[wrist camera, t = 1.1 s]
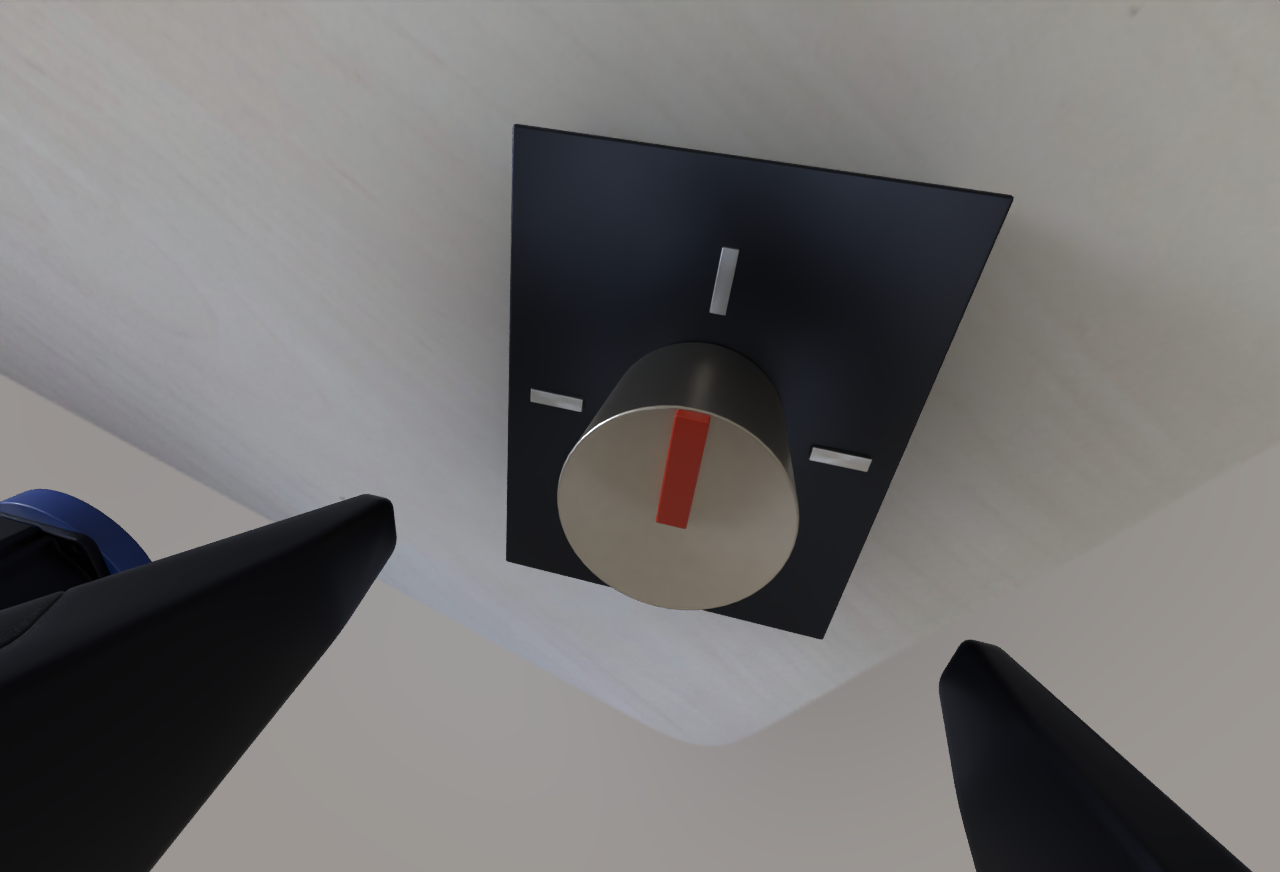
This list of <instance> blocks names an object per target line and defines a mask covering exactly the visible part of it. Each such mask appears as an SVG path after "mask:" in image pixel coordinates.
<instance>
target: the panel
mask: <svg viewBox="0 0 1280 872" xmlns="http://www.w3.org/2000/svg"><path fill="white" fill-rule="evenodd" d="M1013 198H1014V197H1013V196H1012V195H1007V194H1000V193H993V192H986V191H979V190H972V189H965V188H958V187H952V186H945V185H938V184H931V183H924V182H917V181H910V180H903V179H896V178H889V177H882V176H875V175H868V174H861V173H854V172H847V171H840V170H833V169H826V168H820V167H813V166H806V165H799V164H792V163H785V162H778V161H771V160H764V159H757V158H750V157H743V156H736V155H729V154H722V153H715V152H708V151H701V150H694V149H688V148H681V147H674V146H667V145H660V144H653V143H646V142H639V141H632V140H625V139H618V138H611V137H604V136H597V135H590V134H583V133H576V132H569V131H563V130H556V129H549V128H542V127H535V126H528V125H521V124H514V125H513V144H512V210H511V275H510V341H509V407H508V473H507V538H506V561H508V562H512V563H516V564H520V565H524V566H528V567H532V568H536V569H540V570H544V571H548V572H552V573H556V574H560V575H564V576H568V577H572V578H576V579H580V580H584V581H588V582H592V583H596V584H600V585H604V586H608V587H611V586H609V585H608V584H606V583H605V582H603V581H602V580H601V579H600V578H599V577H597V576H596V575H595V574H594V573H593V572H592V571H591V570H590V569H589V568H588V567H587V566H586V565H585V564H584V563H583V562H582V561H581V559H580V558H579V557H578V555H577V554H576V553H575V551H574V550H573V548H572V546H571V545H570V543H569V541H568V539H567V537H566V535H565V533H564V530H563V527H562V524H561V521H560V517H559V510H558V502H557V490H558V484H559V478H560V474H561V471H562V468H563V465H564V463H565V461H566V459H567V457H568V455H569V453H570V452H571V450H572V449H573V447H574V446H575V445H576V443H577V442H578V440H579V439H580V437H581V436H582V434H583V433H584V432H585V430H586V429H587V427H588V426H589V424H590V423H591V421H592V420H593V419H594V417H595V416H596V414H597V413H598V411H599V410H600V408H601V407H602V406H603V404H604V403H605V401H606V400H607V398H608V397H609V395H610V394H611V393H612V391H613V390H614V388H615V387H616V385H617V384H618V382H619V381H620V380H621V378H622V377H623V375H624V374H625V373H626V372H627V371H628V369H629V368H630V367H631V366H632V365H633V364H635V363H636V362H637V361H638V360H640V359H641V358H642V357H644V356H646V355H647V354H649V353H651V352H652V351H655V350H657V349H660V348H662V347H665V346H669V345H673V344H678V343H686V342H700V343H709V344H714V345H718V346H722V347H725V348H727V349H730V350H732V351H735V352H737V353H739V354H740V355H742V356H744V357H746V358H747V359H748V360H750V361H751V362H752V363H754V364H755V365H756V366H757V367H758V368H759V369H760V370H761V371H762V372H763V373H764V374H765V375H766V376H767V377H768V379H769V380H770V381H771V383H772V384H773V386H774V388H775V390H776V391H777V393H778V396H779V398H780V401H781V403H782V408H783V412H784V417H785V423H786V430H787V436H788V442H789V449H790V455H791V461H792V468H793V474H794V480H795V487H796V493H797V500H798V508H799V526H798V534H797V538H796V541H795V545H794V547H793V550H792V552H791V554H790V556H789V558H788V560H787V561H786V563H785V564H784V566H783V567H782V569H781V570H780V571H779V572H778V574H777V575H776V576H775V577H774V578H773V579H772V580H771V581H770V582H769V583H768V584H766V585H765V586H764V587H763V588H761V589H760V590H758V591H757V592H755V593H754V594H752V595H750V596H748V597H746V598H744V599H742V600H740V601H737V602H734V603H731V604H728V605H725V606H721V607H716V608H711V609H702V610H704V611H708V612H713V613H717V614H721V615H725V616H729V617H733V618H737V619H741V620H745V621H749V622H753V623H757V624H761V625H765V626H769V627H773V628H777V629H781V630H785V631H789V632H793V633H797V634H801V635H805V636H809V637H813V638H817V639H823V638H824V635H825V633H826V631H827V629H828V626H829V624H830V622H831V619H832V617H833V615H834V612H835V610H836V608H837V605H838V603H839V601H840V599H841V596H842V594H843V592H844V589H845V587H846V585H847V582H848V580H849V578H850V575H851V573H852V571H853V569H854V566H855V564H856V562H857V559H858V557H859V555H860V552H861V550H862V548H863V545H864V543H865V541H866V539H867V536H868V534H869V532H870V529H871V527H872V525H873V522H874V520H875V518H876V516H877V513H878V511H879V509H880V506H881V504H882V502H883V499H884V497H885V495H886V492H887V490H888V488H889V486H890V483H891V481H892V479H893V476H894V474H895V472H896V469H897V467H898V465H899V462H900V460H901V458H902V456H903V453H904V451H905V449H906V446H907V444H908V442H909V439H910V437H911V435H912V432H913V430H914V428H915V426H916V423H917V421H918V419H919V416H920V414H921V412H922V409H923V407H924V405H925V402H926V400H927V398H928V396H929V393H930V391H931V389H932V386H933V384H934V382H935V379H936V377H937V375H938V372H939V370H940V368H941V366H942V363H943V361H944V359H945V356H946V354H947V352H948V349H949V347H950V345H951V342H952V340H953V338H954V336H955V333H956V331H957V329H958V326H959V324H960V322H961V319H962V317H963V315H964V313H965V310H966V308H967V306H968V303H969V301H970V299H971V296H972V294H973V292H974V289H975V287H976V285H977V283H978V280H979V278H980V276H981V273H982V271H983V269H984V266H985V264H986V262H987V259H988V257H989V255H990V253H991V250H992V248H993V246H994V243H995V241H996V239H997V236H998V234H999V232H1000V229H1001V227H1002V225H1003V223H1004V220H1005V218H1006V216H1007V213H1008V211H1009V209H1010V206H1011V204H1012V202H1013Z"/></svg>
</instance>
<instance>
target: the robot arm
mask: <svg viewBox="0 0 1280 872" xmlns="http://www.w3.org/2000/svg"><path fill="white" fill-rule="evenodd" d="M396 540H397V536H396V527H395V518H394V509H393V504H392V503H391V501H390V500H388V499H387V498H383V497H379V496H375V495H371V494H363V495H359V496H356V497H353V498H350V499H347V500H344V501H341V502H338V503H335V504H331V505H328V506H325V507H322V508H319V509H316V510H313V511H310V512H306V513H303V514H300V515H297V516H294V517H291V518H288V519H285V520H282V521H278V522H275V523H272V524H269V525H266V526H263V527H260V528H257V529H254V530H250V531H247V532H244V533H241V534H238V535H235V536H232V537H229V538H225V539H222V540H219V541H216V542H213V543H210V544H207V545H204V546H201V547H197V548H195V549H191V550H188V551H185V552H182V553H179V554H176V555H172V556H169V557H167V558H163V559H160V560H157V561H154V562H151V563H148V564H144V565H141V566H138V567H135V568H132V569H129V570H126V571H123V572H120V573H116V574H113V575H111V573H110V571H109V569H108V567H107V565H106V563H105V561H104V558H103V556H102V554H101V552H100V550H99V548H98V546H97V544H96V542H95V541H94V540H93V539H92V538H90V537H89V536H87V535H85V534H81V533H78V532H74V531H70V530H66V529H63V528H59V527H55V526H52V525H48V524H44V523H41V522H37V521H33V520H29V519H26V518H22V517H18V516H15V515H11V514H7V513H3V512H0V872H150V870H151V869H152V868H153V867H154V865H155V864H156V863H157V862H158V860H159V859H160V858H161V857H162V855H163V854H164V853H165V852H166V850H167V849H168V848H169V847H170V845H171V844H172V843H173V842H174V840H175V839H176V838H177V836H178V835H179V834H180V833H181V832H182V830H183V829H184V828H185V827H186V825H187V824H188V823H189V822H190V820H191V819H192V818H193V817H194V815H195V814H196V813H197V812H198V810H199V809H200V808H201V806H202V805H203V804H204V803H205V802H206V800H207V799H208V798H209V797H210V795H211V794H212V793H213V792H214V790H215V789H216V788H217V787H218V785H219V784H220V783H221V781H222V780H223V779H224V778H225V777H226V775H227V774H228V773H229V772H230V770H231V769H232V768H233V767H234V765H235V764H236V763H237V762H238V760H239V759H240V758H241V756H242V755H243V754H244V753H245V752H246V750H247V749H248V748H249V747H250V745H251V744H252V743H253V741H254V740H255V739H256V738H257V737H258V735H259V734H260V733H261V732H262V730H263V729H264V728H265V727H266V725H267V724H268V723H269V722H270V720H271V719H272V718H273V717H274V715H275V714H276V713H277V712H278V710H279V709H280V708H281V707H282V705H283V704H284V703H285V701H286V700H287V699H288V698H289V696H290V695H291V694H292V693H293V692H294V690H295V689H296V688H297V687H298V685H299V684H300V683H301V681H302V680H303V679H304V678H305V676H306V675H307V674H308V673H309V671H310V670H311V669H312V668H313V666H314V665H315V664H316V663H317V661H318V660H319V659H320V657H321V656H322V655H323V654H324V653H325V651H326V650H327V649H328V648H329V646H330V645H331V644H332V642H333V641H334V640H335V639H336V637H337V636H338V635H339V633H340V632H341V630H342V629H343V628H344V626H345V625H346V623H347V622H348V620H349V619H350V617H351V616H352V614H353V613H354V611H355V610H356V608H357V607H358V605H359V604H360V602H361V601H362V599H363V598H364V596H365V594H366V593H367V591H368V590H369V588H370V587H371V585H372V584H373V582H374V581H375V579H376V578H377V576H378V575H379V573H380V571H381V570H382V568H383V567H384V565H385V564H386V562H387V561H388V559H389V558H390V556H391V555H392V553H393V551H394V549H395V545H396ZM939 695H940V701H941V706H942V713H943V719H944V724H945V731H946V737H947V743H948V748H949V754H950V760H951V766H952V772H953V778H954V784H955V789H956V794H957V799H958V804H959V808H960V812H961V816H962V820H963V824H964V828H965V832H966V835H967V839H968V843H969V846H970V850H971V854H972V857H973V861H974V865H975V869H976V872H1252V871H1251V870H1250V869H1249V868H1247V867H1246V866H1245V865H1244V864H1243V863H1242V862H1241V861H1240V860H1238V859H1237V858H1236V857H1235V856H1234V855H1233V854H1232V853H1231V852H1229V851H1228V850H1227V849H1226V848H1225V847H1224V846H1223V845H1222V844H1220V843H1219V842H1218V841H1217V840H1216V839H1215V838H1214V837H1213V836H1211V835H1210V834H1209V833H1208V832H1207V831H1206V830H1205V829H1204V828H1203V827H1201V826H1200V825H1199V824H1198V823H1197V822H1196V821H1195V820H1193V819H1192V818H1191V817H1190V816H1189V815H1188V814H1187V813H1185V811H1183V810H1182V809H1181V808H1180V807H1179V806H1178V805H1177V804H1176V803H1174V802H1173V801H1172V800H1171V799H1170V798H1169V797H1168V796H1167V795H1165V794H1164V793H1163V792H1162V791H1161V790H1160V789H1159V788H1158V787H1156V786H1155V785H1154V784H1153V783H1152V782H1151V781H1150V780H1149V779H1147V778H1146V777H1145V776H1144V775H1143V774H1142V773H1141V772H1140V771H1138V770H1137V769H1136V768H1135V767H1134V766H1133V765H1132V764H1130V763H1129V762H1128V761H1127V760H1126V759H1125V758H1124V757H1123V756H1121V755H1120V754H1119V753H1118V752H1117V751H1116V750H1115V749H1114V748H1113V747H1111V746H1110V745H1109V744H1108V743H1107V742H1106V741H1105V740H1104V739H1102V738H1101V737H1100V736H1099V735H1098V734H1097V733H1096V732H1095V731H1093V730H1092V729H1091V728H1090V727H1089V726H1088V725H1087V724H1086V723H1084V722H1083V721H1082V720H1081V719H1080V718H1079V717H1078V716H1077V715H1075V714H1074V713H1073V712H1072V711H1071V710H1070V709H1069V708H1067V706H1065V705H1064V704H1063V703H1062V702H1061V701H1060V700H1058V699H1057V698H1056V697H1055V696H1054V695H1053V694H1052V693H1051V692H1050V691H1049V690H1047V689H1046V688H1045V687H1044V686H1043V685H1042V684H1041V683H1040V682H1038V681H1037V680H1036V679H1035V678H1034V677H1033V676H1032V675H1031V674H1029V673H1028V672H1027V671H1026V670H1025V669H1024V668H1023V667H1022V666H1020V665H1019V664H1018V663H1017V662H1016V661H1015V660H1014V659H1013V658H1011V657H1010V656H1009V655H1008V654H1007V653H1006V652H1005V651H1004V650H1002V649H1001V648H999V647H998V646H995V645H992V644H988V643H984V642H980V641H976V640H965V641H964V642H962V643H961V644H960V646H959V647H958V649H957V651H956V652H955V654H954V655H953V657H952V658H951V660H950V662H949V663H948V665H947V667H946V668H945V670H944V671H943V673H942V675H941V678H940V681H939Z"/></svg>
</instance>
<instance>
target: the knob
mask: <svg viewBox="0 0 1280 872" xmlns="http://www.w3.org/2000/svg"><path fill="white" fill-rule="evenodd" d="M557 502H558V510H559V517H560V521H561V524H562V527H563V530H564V533H565V535H566V537H567V539H568V541H569V543H570V545H571V546H572V548H573V550H574V551H575V553H576V554H577V555H578V557H579V558H580V559H581V561H582V562H583V563H584V564H585V565H586V566H587V567H588V568H589V569H590V570H591V571H592V572H593V573H594V574H595V575H596V576H597V577H599V578H600V579H601V580H602V581H603V582H605V583H606V584H608V585H609V586H611V587H612V588H614V589H615V590H617V591H619V592H621V593H623V594H625V595H627V596H629V597H631V598H634V599H636V600H638V601H641V602H644V603H647V604H651V605H654V606H659V607H664V608H669V609H678V610H702V609H711V608H716V607H721V606H725V605H728V604H731V603H734V602H737V601H740V600H742V599H744V598H746V597H748V596H750V595H752V594H754V593H755V592H757V591H758V590H760V589H761V588H763V587H764V586H765V585H766V584H768V583H769V582H770V581H771V580H772V579H773V578H774V577H775V576H776V575H777V574H778V572H779V571H780V570H781V569H782V567H783V566H784V564H785V563H786V561H787V560H788V558H789V556H790V554H791V552H792V550H793V547H794V545H795V541H796V538H797V534H798V526H799V508H798V500H797V493H796V487H795V480H794V474H793V468H792V461H791V455H790V449H789V442H788V436H787V430H786V423H785V417H784V412H783V408H782V403H781V401H780V398H779V396H778V393H777V391H776V390H775V388H774V386H773V384H772V383H771V381H770V380H769V379H768V377H767V376H766V375H765V374H764V373H763V372H762V371H761V370H760V369H759V368H758V367H757V366H756V365H755V364H754V363H752V362H751V361H750V360H748V359H747V358H746V357H744V356H742V355H740V354H739V353H737V352H735V351H732V350H730V349H727V348H725V347H722V346H718V345H714V344H709V343H700V342H686V343H678V344H673V345H669V346H665V347H662V348H660V349H657V350H655V351H652V352H651V353H649V354H647V355H646V356H644V357H642V358H641V359H640V360H638V361H637V362H636V363H635V364H633V365H632V366H631V367H630V368H629V369H628V371H627V372H626V373H625V374H624V375H623V377H622V378H621V380H620V381H619V382H618V384H617V385H616V387H615V388H614V390H613V391H612V393H611V394H610V395H609V397H608V398H607V400H606V401H605V403H604V404H603V406H602V407H601V408H600V410H599V411H598V413H597V414H596V416H595V417H594V419H593V420H592V421H591V423H590V424H589V426H588V427H587V429H586V430H585V432H584V433H583V434H582V436H581V437H580V439H579V440H578V442H577V443H576V445H575V446H574V447H573V449H572V450H571V452H570V453H569V455H568V457H567V459H566V461H565V463H564V465H563V468H562V471H561V474H560V478H559V484H558V490H557Z"/></svg>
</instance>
